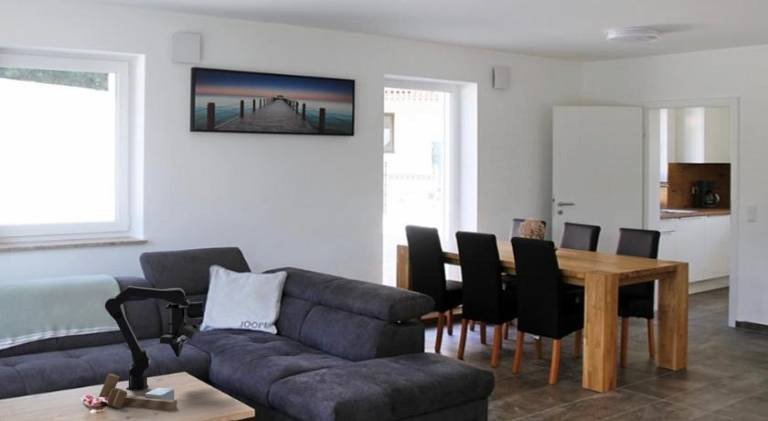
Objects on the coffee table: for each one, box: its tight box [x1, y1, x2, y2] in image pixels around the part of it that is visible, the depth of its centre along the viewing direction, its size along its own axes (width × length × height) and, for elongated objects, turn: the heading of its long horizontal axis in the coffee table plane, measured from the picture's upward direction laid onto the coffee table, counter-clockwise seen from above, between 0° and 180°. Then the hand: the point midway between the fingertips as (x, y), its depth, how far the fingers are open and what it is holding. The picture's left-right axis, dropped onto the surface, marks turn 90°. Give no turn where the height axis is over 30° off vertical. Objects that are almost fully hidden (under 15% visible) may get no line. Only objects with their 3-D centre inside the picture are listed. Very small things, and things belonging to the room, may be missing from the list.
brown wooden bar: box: [122, 394, 178, 411], centre depth 297 cm, size 22×3×3 cm, turn 73°
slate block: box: [144, 387, 175, 400], centre depth 303 cm, size 7×9×4 cm
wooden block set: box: [98, 373, 128, 409], centre depth 302 cm, size 18×9×10 cm, turn 26°
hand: (178, 356), depth 326 cm, fingers closed
